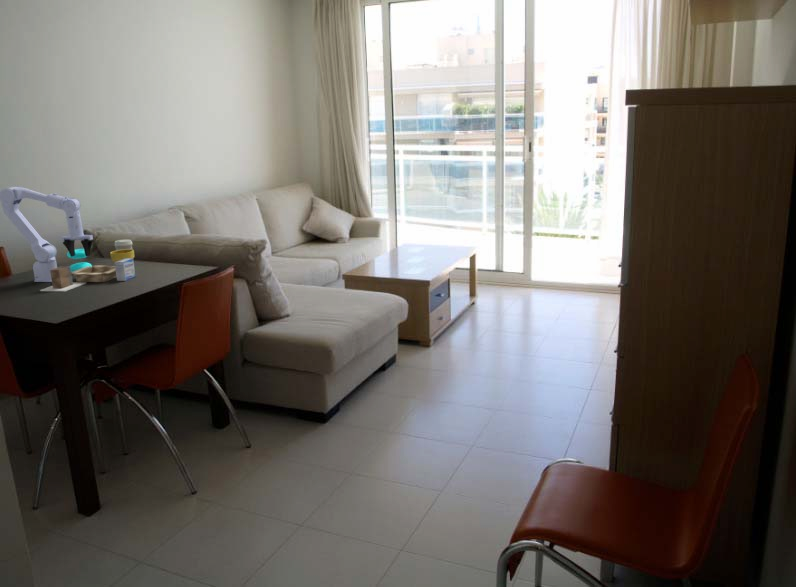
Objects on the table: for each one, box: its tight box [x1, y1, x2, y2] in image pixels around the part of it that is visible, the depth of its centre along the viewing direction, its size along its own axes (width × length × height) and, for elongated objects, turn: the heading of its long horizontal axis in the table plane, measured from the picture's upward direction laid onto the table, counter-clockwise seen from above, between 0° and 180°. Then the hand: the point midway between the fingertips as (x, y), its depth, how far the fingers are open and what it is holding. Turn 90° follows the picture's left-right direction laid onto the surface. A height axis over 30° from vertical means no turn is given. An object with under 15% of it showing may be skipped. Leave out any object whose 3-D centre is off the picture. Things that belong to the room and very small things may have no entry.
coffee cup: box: [114, 238, 133, 251], centre depth 335 cm, size 8×8×12 cm
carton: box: [71, 264, 117, 283], centre depth 308 cm, size 19×17×4 cm
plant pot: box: [109, 248, 135, 265], centre depth 319 cm, size 10×10×10 cm
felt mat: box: [39, 281, 87, 293], centre depth 294 cm, size 12×14×1 cm
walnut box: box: [50, 265, 74, 289], centre depth 293 cm, size 4×7×8 cm, turn 168°
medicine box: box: [114, 258, 136, 282], centre depth 304 cm, size 8×4×9 cm, turn 168°
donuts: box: [66, 248, 93, 272], centre depth 325 cm, size 10×10×10 cm
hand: (80, 255), depth 307 cm, fingers open, 7 cm apart
